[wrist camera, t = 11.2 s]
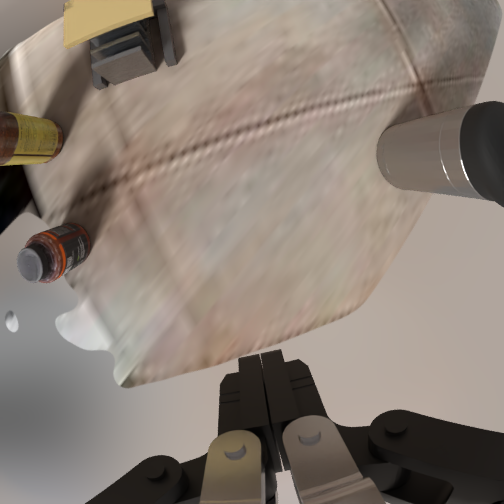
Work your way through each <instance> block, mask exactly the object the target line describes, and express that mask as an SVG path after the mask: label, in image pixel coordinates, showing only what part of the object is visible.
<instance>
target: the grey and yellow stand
mask: <svg viewBox="0 0 504 504" xmlns="http://www.w3.org/2000/svg"><path fill="white" fill-rule="evenodd" d="M155 17H158V20H159V27H160V33H161V40H162V46H163V52H164V58H165V62H166V64H167V66H168V67H169V66H173V65H177V60H176V55H175V49H174V43H173V38H172V32H171V26H170V20H169V14H168V8H167V5H166V3H165V0H71V1H69V2H67V3H65V4H64V47H65V48H67V49H69V48H71V47H73V46H75V45H78V44H80V43H82V42H84V41H86V40H89V39H91V38H93V37H96V36H98V35H100V34H103V33H105V32H108V31H110V30H113V29H116V28H118V27H121V26H124V25H126V24H129V23H132V22H135V21H138V20H141V19H144V18H148V19H151V18H155ZM94 48H96V46H95V45H94V44H93V43H92V42H91V41H90V50H92V49H94ZM96 62H99V61H98V60H97V59H96V58H94V57H93V56H92V55H91V65H92V64H94V63H96ZM92 76H93V86H94V87H95V88H97V89H99V90H101V89H103V88H106V87H107V80H106V79H105V78H103V77H102V76H101V75H99V74H98V73H97V72H95V71H94V70H93V69H92Z"/></svg>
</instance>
